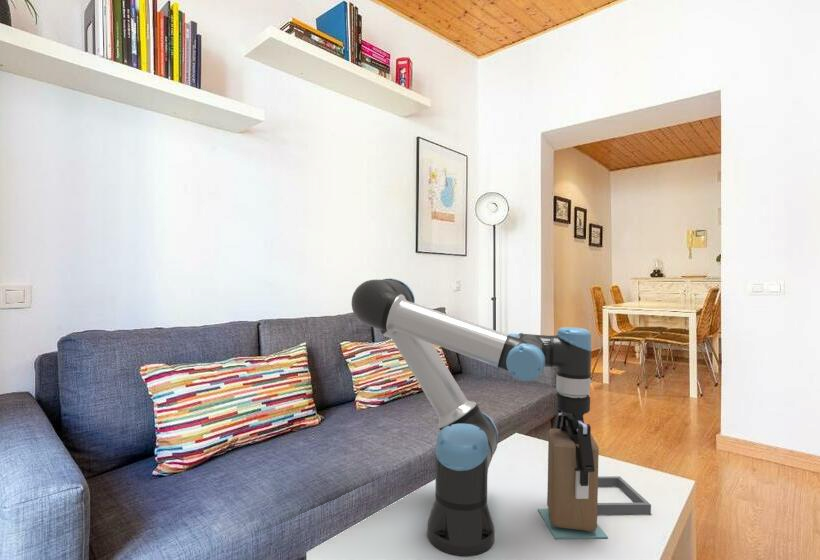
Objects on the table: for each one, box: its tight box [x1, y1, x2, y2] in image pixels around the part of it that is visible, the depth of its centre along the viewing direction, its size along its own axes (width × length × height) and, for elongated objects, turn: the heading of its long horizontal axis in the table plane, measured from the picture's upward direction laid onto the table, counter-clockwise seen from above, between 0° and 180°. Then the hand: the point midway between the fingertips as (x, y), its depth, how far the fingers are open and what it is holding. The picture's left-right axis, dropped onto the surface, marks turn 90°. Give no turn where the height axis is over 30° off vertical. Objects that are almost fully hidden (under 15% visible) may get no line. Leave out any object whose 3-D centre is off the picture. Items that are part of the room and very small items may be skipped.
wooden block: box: [546, 427, 600, 531], centre depth 104 cm, size 10×10×20 cm
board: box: [537, 507, 609, 540], centre depth 105 cm, size 12×12×1 cm
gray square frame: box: [597, 475, 652, 516], centre depth 116 cm, size 15×15×2 cm
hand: (571, 485), depth 105 cm, fingers closed on wooden block, 11 cm apart
